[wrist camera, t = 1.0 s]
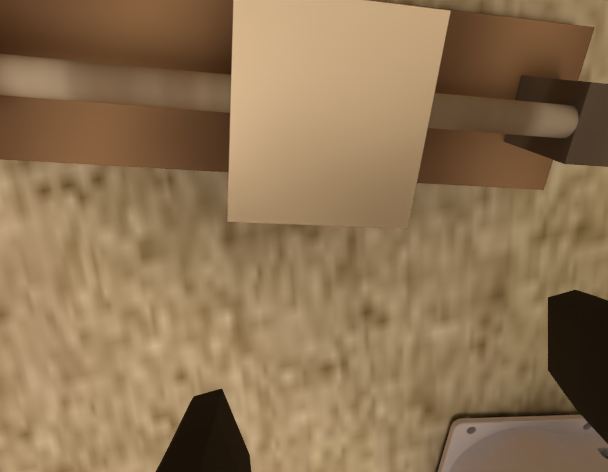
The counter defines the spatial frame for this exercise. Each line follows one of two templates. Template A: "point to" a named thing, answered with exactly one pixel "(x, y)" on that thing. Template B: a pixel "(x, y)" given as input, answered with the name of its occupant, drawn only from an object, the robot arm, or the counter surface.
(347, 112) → the tan wooden block
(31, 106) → the rod base
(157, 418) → the counter surface
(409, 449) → the counter surface
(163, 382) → the counter surface
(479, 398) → the counter surface
